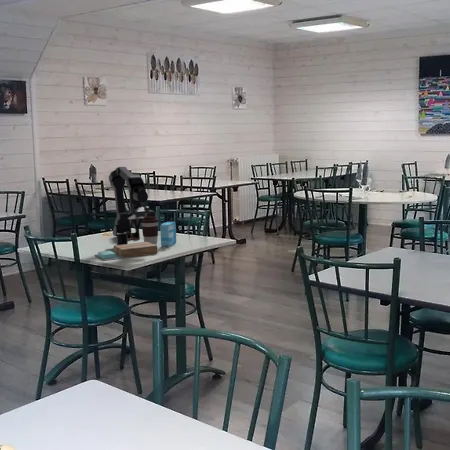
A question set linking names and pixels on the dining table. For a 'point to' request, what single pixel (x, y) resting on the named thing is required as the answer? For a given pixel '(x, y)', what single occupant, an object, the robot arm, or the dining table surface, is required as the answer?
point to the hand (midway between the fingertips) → (137, 231)
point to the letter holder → (133, 235)
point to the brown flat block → (135, 249)
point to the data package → (168, 234)
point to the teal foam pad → (106, 254)
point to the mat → (111, 258)
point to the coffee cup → (150, 229)
